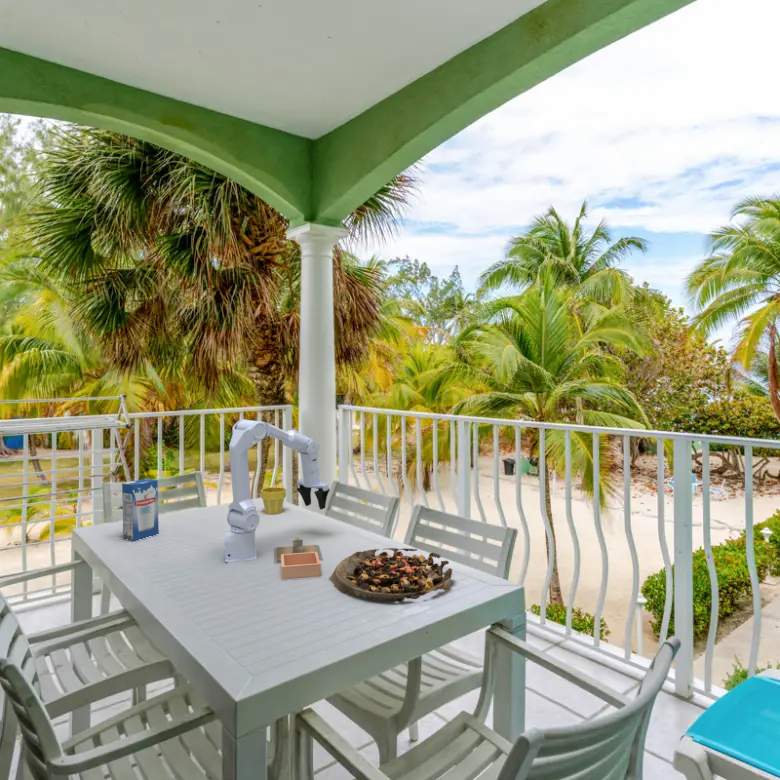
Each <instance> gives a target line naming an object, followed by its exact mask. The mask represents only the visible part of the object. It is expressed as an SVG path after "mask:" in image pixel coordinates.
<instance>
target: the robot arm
mask: <svg viewBox="0 0 780 780" xmlns="http://www.w3.org/2000/svg"><path fill="white" fill-rule="evenodd" d="M231 430H232V434H231V435H232V436H231V438H230V442H229V445H228V451H229V463H230V476H231V489H232V491H231V492H232V502H231V503H229V505H228V512H227V516H226V521H227V524H228V525H229V526H230V530H227V531H225V532H224V533H225V534H224V549H223V550H224V553H223V554H224V563H229V562H241V561H243V562H244V561H253V560H257V553H258V552H257V550H256V531H257V528H258V526H259V524H260V515H259V513H258V510H257V506H256V505H255V503H254V502H253V500H252V496H251V481H250V466H249V455H248V452H249V450H250V449H251V448H252V447H253V446H255V445H257V444H259V442H261V441H262V440H264V438H266V437H271V438H274V439H276V440H279V441H282V444H283V446H285V447H287V448H289V449H291V450H294V451H296V452H297V453H298V454H300V461H301V468H302V476H303V478H300V479H297V480H296V482H297V486H298V487H297V489H296V490H297V492H298V493H299V495H300V496H301V498H302V500H303V502H304V505H305V506H306V507H308V506H310V505H311V504H312V497H311V496H312V495H311V494H312V488H313V489H317V490H316V491H314V492H313V493H314V495H315V497H316V499H317V503H318V504H317V505H318V508H319V510H323V509H325V508H326V504H327V498H328V495H329V492H330V487H329V484H328V483H325V482H324V481H323V480H322V479H321V477H320V471H319V469H320V468H319V461H318V458H319V450H320V444H319V443H318V441H317V440H316V439H315V438H311V437H308V436H307V435H306V434H300V433H298V430H296V429H291V430H287V431H286V430H284V429H281V428H279V427H277V426H275V425H273V424H271V423H270V422H265V421H263V420H250V419H244V418H243V419H239V420H238V421H237V422H236V423H235V424H234V425H233V427H232V429H231Z"/></svg>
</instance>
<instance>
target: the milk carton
mask: <svg viewBox="0 0 780 780" xmlns="http://www.w3.org/2000/svg"><path fill="white" fill-rule="evenodd" d="M158 483H159V482H158V479H153V478H143V479H142V478H141V479H138V480H134V481H128V482H127V481H126V482H122V483H121V484H122V485H121V487H122V489H121V491H122V530H123V531H122V534H123V535H122V538H125V539H128V540H127V541H129V540H132V541H131V542H133V541H135V542H137V541H136V540H139V539H142V540H144V539H143V538H146V537H149V536H152V537H154V536H153V535H156V534H159V533H160V531H159V491H158V490H159V489H158V488H159V485H158ZM156 536H157V535H156ZM149 538H150V537H149ZM125 539H124V540H125ZM146 539H147V538H146ZM139 541H140V540H139Z"/></svg>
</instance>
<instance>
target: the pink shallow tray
mask: <svg viewBox="0 0 780 780" xmlns="http://www.w3.org/2000/svg"><path fill="white" fill-rule="evenodd" d="M321 565H322V564H321V561H320V560H319V556H318V553H317V552H306V553H293V554H281V564H280V568H281V569H280V571H281V580H282V581H283V582H284V581H286V582H287V580H289V579H290V580H292V579H294V581H295V580H296V581H297V580H299V579H304V578H306V580H307V579H311V578H312V577H313V578H317V577H318V579H320V578H321V570H322V569H321Z"/></svg>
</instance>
